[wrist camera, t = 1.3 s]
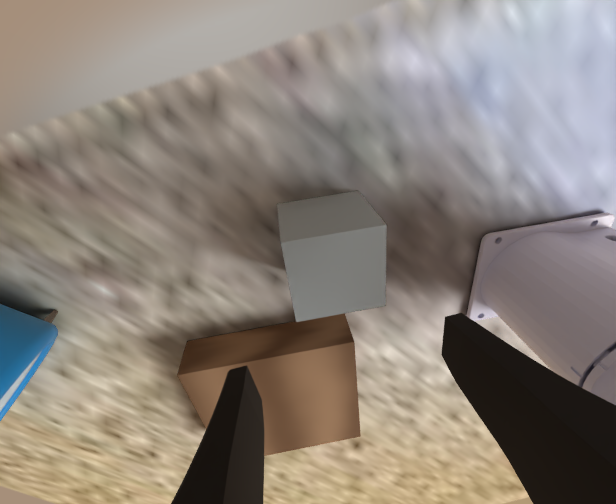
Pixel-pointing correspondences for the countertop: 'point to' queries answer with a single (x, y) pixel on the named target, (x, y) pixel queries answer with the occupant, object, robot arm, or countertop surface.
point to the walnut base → (283, 379)
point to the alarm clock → (21, 351)
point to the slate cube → (333, 255)
